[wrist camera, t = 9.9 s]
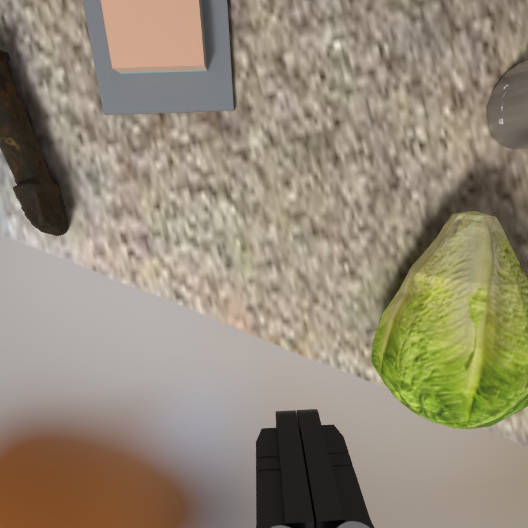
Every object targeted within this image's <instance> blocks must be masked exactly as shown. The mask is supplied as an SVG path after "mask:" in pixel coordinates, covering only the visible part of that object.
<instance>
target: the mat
mask: <svg viewBox="0 0 528 528" xmlns="http://www.w3.org/2000/svg"><path fill="white" fill-rule="evenodd" d="M83 5H84V10H85V16H86V21H87V26H88V32H89V37H90V43H91V48H92V53H93V59H94V64H95V70H96V75H97V81H98V86H99V91H100V97H101V102H102V108H103V113H104V114H105V115H120V114H149V113H178V112H207V111H234V101H233V85H232V68H231V52H230V35H229V19H228V2H227V0H202V12H203V24H204V36H205V48H206V60H207V71H191V72H160V73H128V74H120V73H119V72H117V71H116V70H114V69H113V68H112V64H111V58H110V52H109V46H108V41H107V35H106V29H105V23H104V17H103V11H102V5H101V0H83Z"/></svg>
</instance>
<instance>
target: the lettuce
mask: <svg viewBox="0 0 528 528" xmlns="http://www.w3.org/2000/svg"><path fill="white" fill-rule="evenodd" d="M371 362H372V364H373V365H374V367H375V369H376V370H377V372H378V373H379V375H380V377H381V378H382V380H383V381H384V383H385V385H386V386H387V387H388V389H389V390H390V391H391V392H392V394H393V395H394V396H395V398H397V399H398V400H399V401H400V402H401V403H403V404H404V405H405V406H406V407H408V408H409V409H410V410H411V411H413V412H414V413H416V414H418V415H419V416H421V417H424V418H426V419H428V420H430V421H432V422H435V423H438V424H442V425H445V426H449V427H453V428H463V429H472V428H480V427H488V426H491V425H494V424H496V423H498V422H500V421H502V420H503V419H505V418H507V417H509V416H511V415H513V414H514V413H516V412H518V411H520V410H522V409H524V408H525V407H527V406H528V280H527V278H526V276H525V273H524V271H523V269H522V267H521V265H520V263H519V261H518V259H517V257H516V255H515V253H514V251H513V249H512V247H511V245H510V243H509V241H508V238H507V236H506V234H505V232H504V230H503V228H502V226H501V224H500V222H499V221H498V219H497V217H494V216H491V215H488V214H484V213H481V212H478V211H470V212H462V213H455V214H452V215H451V216H450V218H449V219H448V220H447V222H446V223H445V225H444V226H443V228H442V230H441V231H440V233H439V235H438V236H437V237H436V239H435V240H434V241H433V242H432V243H431V245H430V246H429V247H428V248H427V249H426V250H425V252H424V253H423V254H422V255H421V256H420V257H419V259H418V260H417V261H416V262H415V263H414V264H413V266H412V267H411V268H410V270H409V272H408V274H407V276H406V278H405V279H404V281H403V283H402V285H401V287H400V289H399V291H398V292H397V293H396V295H395V296H394V298H393V299H392V301H391V302H390V303H389V305H388V306H387V308H386V309H385V311H384V312H383V314H382V317H381V320H380V322H379V325H378V328H377V331H376V334H375V337H374V340H373V344H372V356H371Z"/></svg>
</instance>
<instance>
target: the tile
mask: <svg viewBox="0 0 528 528" xmlns="http://www.w3.org/2000/svg"><path fill="white" fill-rule="evenodd" d="M101 5H102V11H103V17H104V23H105V29H106V35H107V41H108V46H109V52H110V58H111V64H112V68H113V69H114V70H116V71H117V72H119V73H120V74H128V73H160V72H191V71H207V60H206V48H205V36H204V24H203V12H202V0H101Z"/></svg>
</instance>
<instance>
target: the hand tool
mask: <svg viewBox="0 0 528 528" xmlns="http://www.w3.org/2000/svg"><path fill="white" fill-rule="evenodd" d="M7 61H9V54H8V53H7V52H5V51H2V50H0V148H1V150H2V152H3V154H4V157H5V159H6V161H7V163H8V165H9V167H10V169H11V171H12V173H13V175H14V178H15V182H16V184H17V186H15V187H13V190H14V192H15V195H16V197H17V199H18V200H19V201H20V203H21V205H22V207H21V208H22V210H23V211H24V212H25V215H26V217H27V219H29V220H30V222H31V224H32V225H33V226H35V227H36V228H37V229H38V230H40V231H41V232H44V233H48V234H51V235H55V236H59V235H63V234H65V233H66V232H67V227H68V226H67V219H66V211H65V206H64V205H63V200H62V195H61V191H60V188H59V186H58V185H57V184H56V183H54V182H53V180H52V178H51V176H50V174H49V171H48V169H47V166H46V163H45V160H44V158H43V155H42V152H41V148H40V145H39V143H38V141H37V139H36V137H35V135H34V132H33V130H32V127H31V125H30V122H29V119H28V116H27V113H26V111H25V108H24V105H23V102H22V100H21V99H20V97H19V94H18V92H17V89H16V87H15V85H14V82H13V80H12V78H11V75H10V73H9V70H8V67H7Z"/></svg>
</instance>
